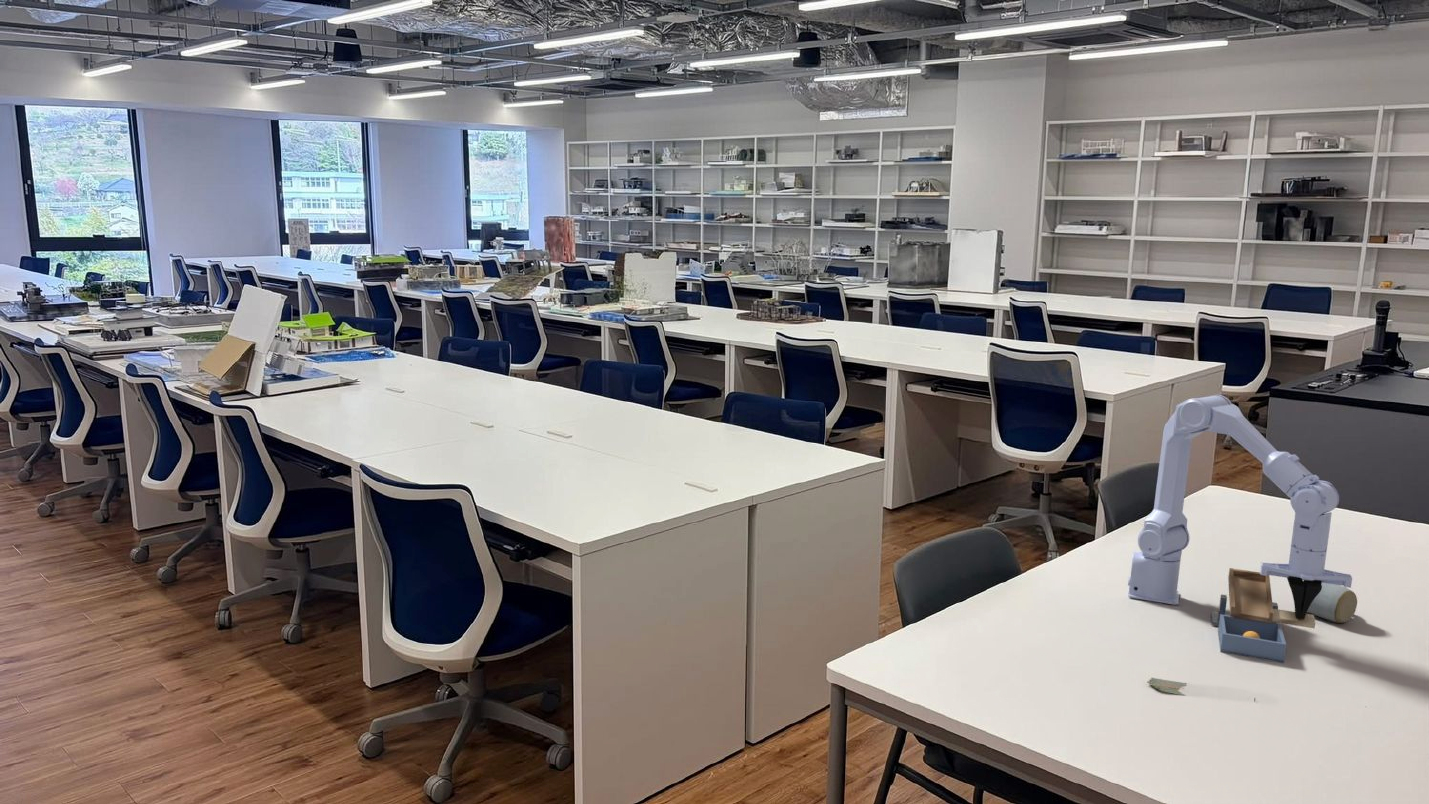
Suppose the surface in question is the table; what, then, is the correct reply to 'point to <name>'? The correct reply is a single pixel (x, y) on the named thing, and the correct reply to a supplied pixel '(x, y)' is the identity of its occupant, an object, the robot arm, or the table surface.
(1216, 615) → the pivot stand
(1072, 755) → the table surface
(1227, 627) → the bin
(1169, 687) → the map
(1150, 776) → the table surface
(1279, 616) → the tilt ramp
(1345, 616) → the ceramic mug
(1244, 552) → the table surface
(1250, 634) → the orange ball
